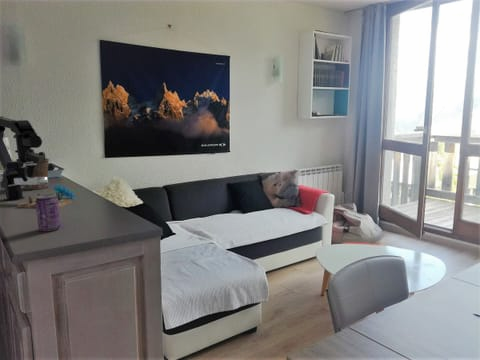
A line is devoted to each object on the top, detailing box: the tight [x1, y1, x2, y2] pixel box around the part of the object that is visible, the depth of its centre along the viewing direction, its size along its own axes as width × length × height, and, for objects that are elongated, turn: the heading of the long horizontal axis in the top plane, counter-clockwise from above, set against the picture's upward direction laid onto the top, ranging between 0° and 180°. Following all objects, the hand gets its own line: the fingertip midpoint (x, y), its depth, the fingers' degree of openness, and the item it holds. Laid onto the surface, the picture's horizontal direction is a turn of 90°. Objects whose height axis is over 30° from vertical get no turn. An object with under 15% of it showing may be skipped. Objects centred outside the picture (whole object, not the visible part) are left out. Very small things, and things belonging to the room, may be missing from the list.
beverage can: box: [35, 193, 62, 232], centre depth 138 cm, size 7×7×12 cm
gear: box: [53, 184, 75, 199], centre depth 189 cm, size 11×6×10 cm
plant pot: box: [22, 157, 50, 191], centre depth 223 cm, size 16×16×16 cm
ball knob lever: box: [14, 176, 49, 185], centre depth 187 cm, size 16×4×3 cm, turn 81°
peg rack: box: [17, 193, 73, 209], centre depth 179 cm, size 20×10×4 cm, turn 80°
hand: (28, 180), depth 187 cm, fingers closed on ball knob lever, 3 cm apart
